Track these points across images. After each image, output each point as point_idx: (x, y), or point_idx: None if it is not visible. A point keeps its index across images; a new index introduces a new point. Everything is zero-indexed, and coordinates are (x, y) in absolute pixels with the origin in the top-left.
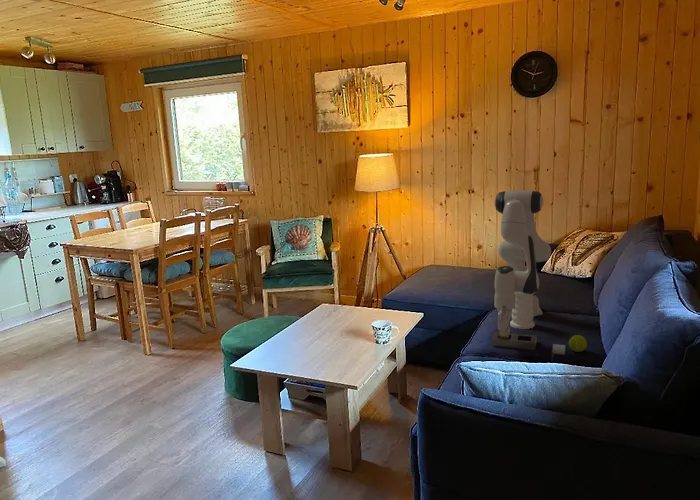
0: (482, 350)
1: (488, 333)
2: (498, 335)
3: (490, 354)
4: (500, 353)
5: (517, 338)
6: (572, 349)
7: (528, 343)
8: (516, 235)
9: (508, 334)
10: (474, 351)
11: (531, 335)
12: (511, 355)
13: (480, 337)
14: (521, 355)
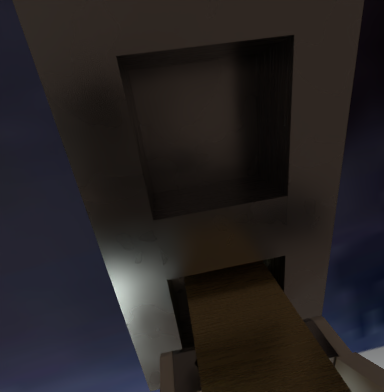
0: None
1: (54, 387)
2: None
3: (371, 273)
4: (353, 236)
5: (246, 206)
6: None
7: (348, 54)
8: None
9: (290, 305)
10: (341, 337)
11: (59, 67)
12: (379, 171)
13: (144, 388)
14: (375, 106)
